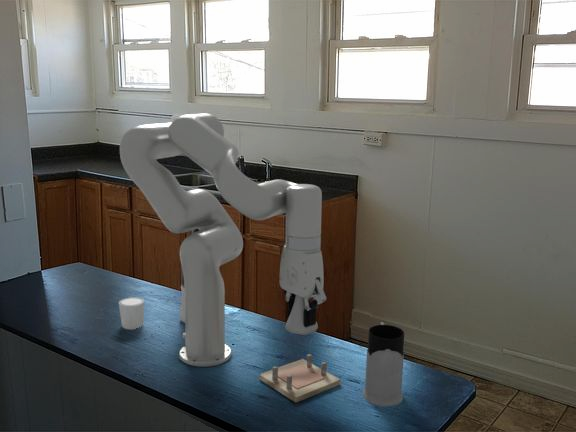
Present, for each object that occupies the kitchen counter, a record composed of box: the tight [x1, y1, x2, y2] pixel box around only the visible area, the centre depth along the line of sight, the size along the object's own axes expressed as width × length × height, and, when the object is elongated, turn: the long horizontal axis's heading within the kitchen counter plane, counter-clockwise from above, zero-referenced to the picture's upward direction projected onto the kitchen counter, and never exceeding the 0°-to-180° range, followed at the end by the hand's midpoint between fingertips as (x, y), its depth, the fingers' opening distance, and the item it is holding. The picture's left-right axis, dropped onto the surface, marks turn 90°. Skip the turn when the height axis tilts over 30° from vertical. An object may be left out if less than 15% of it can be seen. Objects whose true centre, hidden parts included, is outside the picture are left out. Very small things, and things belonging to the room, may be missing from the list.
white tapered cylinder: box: [118, 296, 146, 330], centre depth 167 cm, size 7×7×7 cm
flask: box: [283, 295, 319, 336], centre depth 135 cm, size 7×7×10 cm
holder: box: [362, 322, 405, 407], centre depth 134 cm, size 9×14×15 cm, turn 177°
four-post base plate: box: [258, 353, 341, 403], centre depth 138 cm, size 13×13×4 cm
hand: (301, 320), depth 135 cm, fingers closed on flask, 4 cm apart
